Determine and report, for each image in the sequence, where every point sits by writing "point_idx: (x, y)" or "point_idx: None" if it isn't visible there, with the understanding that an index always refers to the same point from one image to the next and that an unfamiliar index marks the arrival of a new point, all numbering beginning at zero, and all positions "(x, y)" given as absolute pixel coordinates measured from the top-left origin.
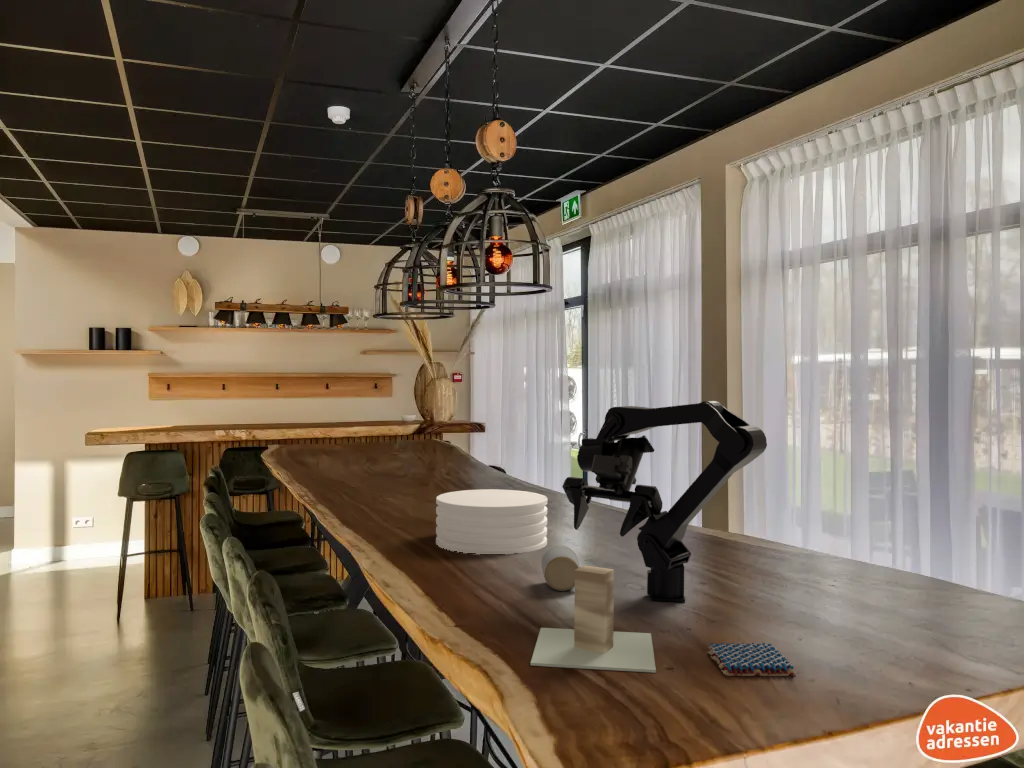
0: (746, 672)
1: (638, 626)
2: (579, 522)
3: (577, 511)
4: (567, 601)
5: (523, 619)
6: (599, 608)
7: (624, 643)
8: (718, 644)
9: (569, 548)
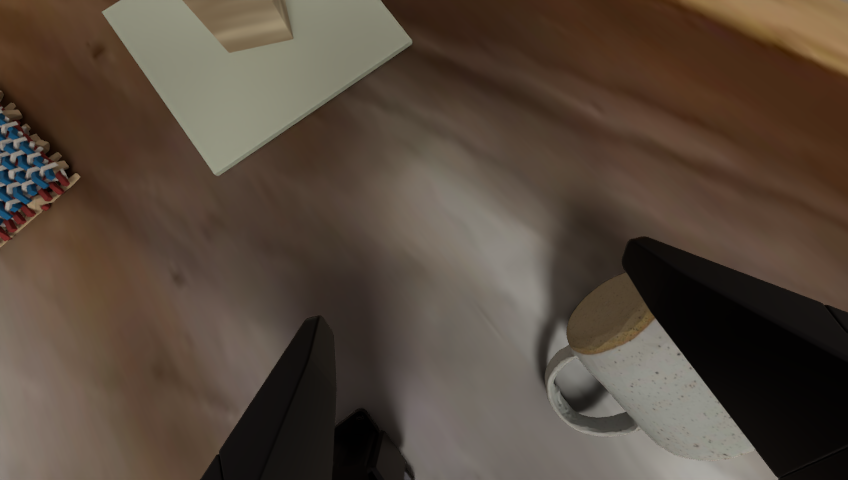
0: None
1: (273, 210)
2: (662, 298)
3: (772, 307)
4: (513, 245)
5: (488, 70)
6: None
7: (223, 84)
8: (33, 178)
9: (730, 444)
